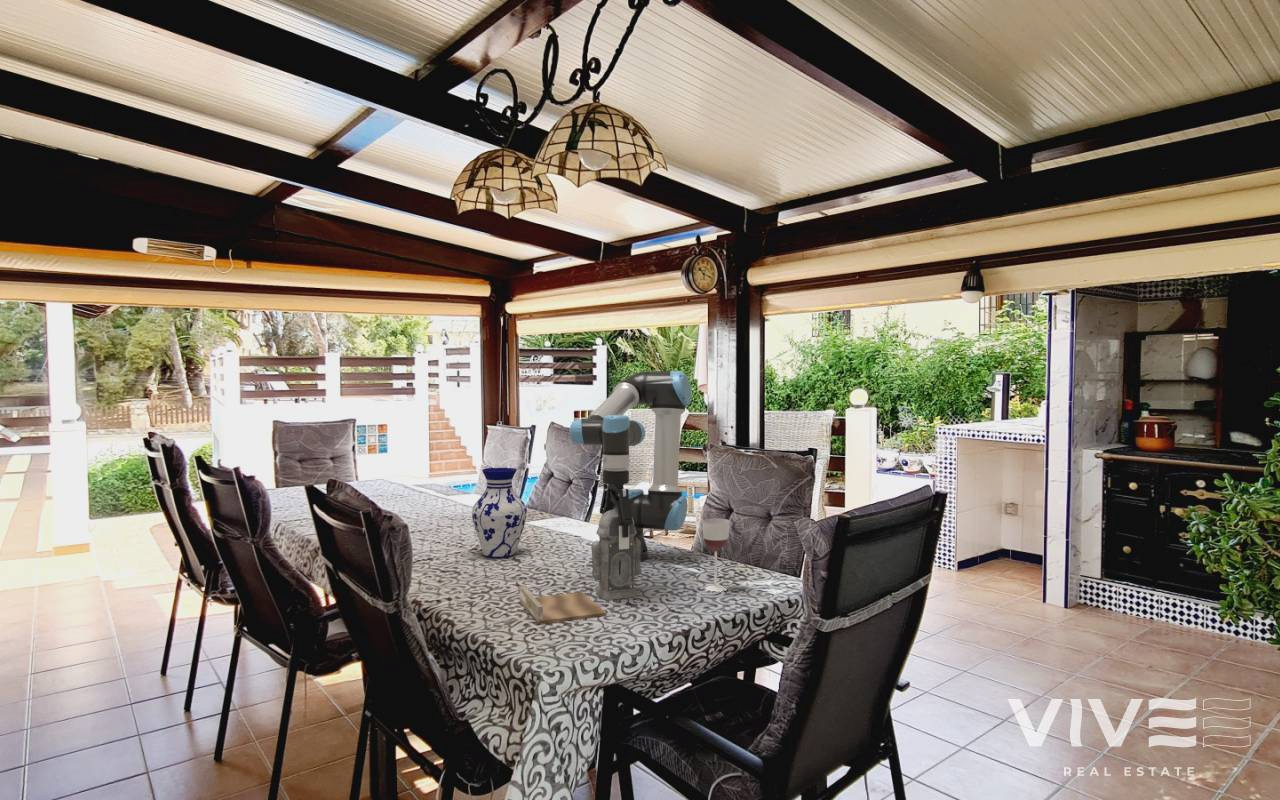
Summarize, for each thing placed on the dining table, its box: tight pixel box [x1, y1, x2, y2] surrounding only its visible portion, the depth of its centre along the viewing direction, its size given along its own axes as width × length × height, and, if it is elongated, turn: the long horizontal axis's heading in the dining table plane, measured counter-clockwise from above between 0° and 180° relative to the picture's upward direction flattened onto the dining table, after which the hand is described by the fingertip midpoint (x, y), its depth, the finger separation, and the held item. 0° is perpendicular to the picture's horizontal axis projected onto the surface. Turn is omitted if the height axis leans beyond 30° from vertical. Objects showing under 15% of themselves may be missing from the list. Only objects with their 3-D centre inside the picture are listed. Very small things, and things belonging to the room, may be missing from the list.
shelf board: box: [519, 585, 607, 625], centre depth 192 cm, size 18×20×4 cm
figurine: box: [591, 507, 642, 601], centre depth 206 cm, size 10×14×25 cm
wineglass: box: [701, 517, 730, 593], centre depth 211 cm, size 8×9×20 cm
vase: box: [471, 467, 528, 559], centre depth 253 cm, size 19×19×30 cm
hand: (615, 544), depth 205 cm, fingers open, 13 cm apart
